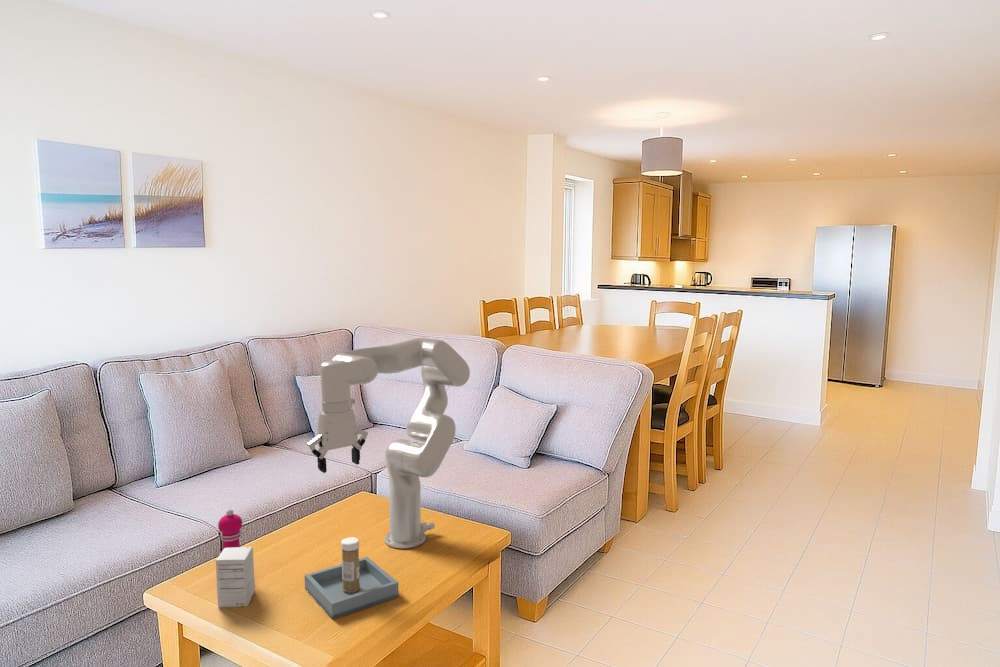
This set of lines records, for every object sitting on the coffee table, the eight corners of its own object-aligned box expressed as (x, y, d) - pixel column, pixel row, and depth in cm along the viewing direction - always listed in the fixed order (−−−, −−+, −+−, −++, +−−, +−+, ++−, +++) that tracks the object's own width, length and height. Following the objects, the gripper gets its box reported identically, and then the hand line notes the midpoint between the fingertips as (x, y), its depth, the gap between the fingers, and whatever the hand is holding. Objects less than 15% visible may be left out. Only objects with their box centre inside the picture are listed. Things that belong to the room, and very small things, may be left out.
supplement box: (226, 593, 173) (224, 546, 172) (255, 592, 174) (253, 546, 172) (216, 608, 166) (214, 560, 164) (247, 607, 167) (245, 559, 165)
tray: (367, 570, 186) (367, 556, 186) (398, 597, 172) (398, 582, 172) (304, 589, 176) (304, 574, 175) (332, 619, 161) (331, 604, 161)
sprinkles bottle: (363, 588, 174) (362, 539, 173) (350, 595, 171) (349, 545, 169) (351, 583, 177) (350, 535, 175) (338, 590, 173) (337, 541, 172)
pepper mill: (252, 576, 182) (250, 506, 180) (234, 589, 175) (231, 516, 173) (231, 572, 184) (228, 502, 182) (212, 584, 178) (208, 512, 175)
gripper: (359, 398, 187) (361, 457, 190) (300, 409, 176) (303, 471, 179) (372, 403, 182) (374, 463, 184) (312, 414, 171) (315, 478, 173)
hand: (339, 467), depth 181 cm, fingers open, 9 cm apart
